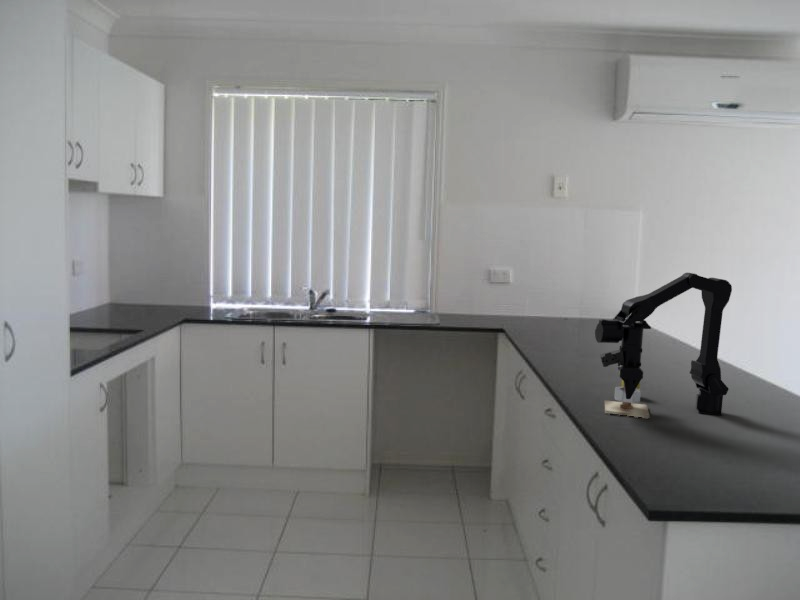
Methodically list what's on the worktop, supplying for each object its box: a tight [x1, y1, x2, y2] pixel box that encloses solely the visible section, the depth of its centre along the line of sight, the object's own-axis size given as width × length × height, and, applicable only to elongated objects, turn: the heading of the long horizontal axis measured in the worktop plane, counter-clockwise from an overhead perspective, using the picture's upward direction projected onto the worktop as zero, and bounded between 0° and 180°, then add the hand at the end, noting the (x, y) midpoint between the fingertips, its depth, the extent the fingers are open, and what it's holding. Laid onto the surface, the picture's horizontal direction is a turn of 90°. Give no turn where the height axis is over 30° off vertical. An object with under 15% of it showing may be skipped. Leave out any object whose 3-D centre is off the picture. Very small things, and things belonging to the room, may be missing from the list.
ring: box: [614, 385, 642, 404], centre depth 211 cm, size 7×7×3 cm
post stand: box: [604, 390, 650, 419], centre depth 211 cm, size 12×12×6 cm
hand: (627, 395), depth 211 cm, fingers closed on ring, 7 cm apart
